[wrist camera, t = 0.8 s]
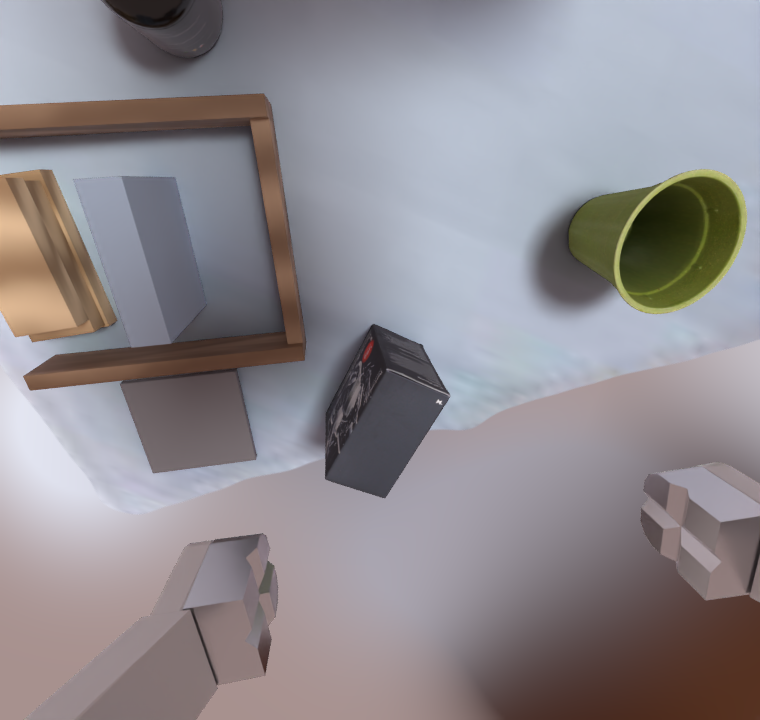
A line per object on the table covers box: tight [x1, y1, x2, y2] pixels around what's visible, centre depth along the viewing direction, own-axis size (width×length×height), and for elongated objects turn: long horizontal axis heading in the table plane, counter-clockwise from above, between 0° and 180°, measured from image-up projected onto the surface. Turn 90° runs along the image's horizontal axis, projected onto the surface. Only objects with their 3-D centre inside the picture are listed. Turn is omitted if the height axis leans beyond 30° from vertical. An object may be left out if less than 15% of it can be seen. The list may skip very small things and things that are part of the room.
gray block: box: [73, 176, 207, 348], centre depth 34 cm, size 12×3×11 cm, turn 3°
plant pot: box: [569, 169, 747, 314], centre depth 39 cm, size 12×12×11 cm
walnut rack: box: [0, 94, 306, 391], centre depth 36 cm, size 22×26×5 cm
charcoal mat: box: [120, 368, 257, 473], centre depth 46 cm, size 12×12×1 cm
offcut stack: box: [0, 170, 117, 342], centre depth 35 cm, size 14×6×6 cm, turn 8°
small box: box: [325, 324, 450, 498], centre depth 42 cm, size 13×7×12 cm, turn 153°
